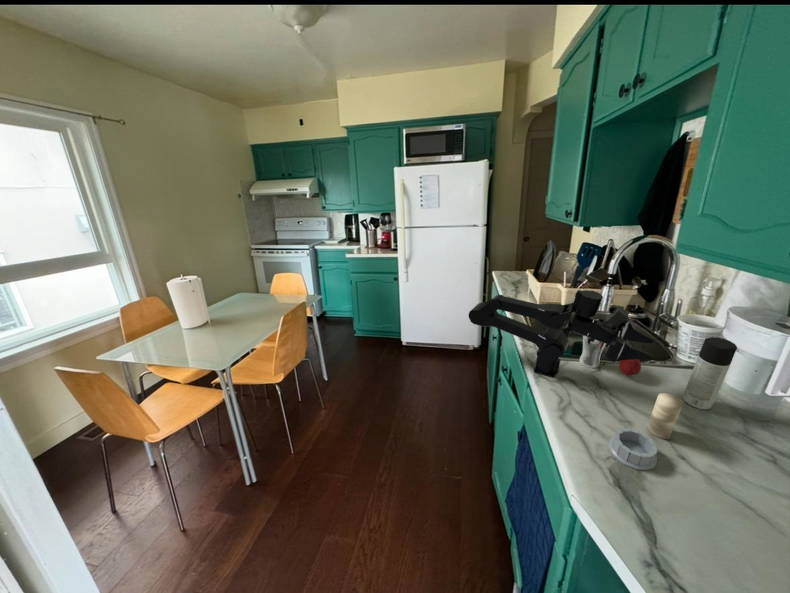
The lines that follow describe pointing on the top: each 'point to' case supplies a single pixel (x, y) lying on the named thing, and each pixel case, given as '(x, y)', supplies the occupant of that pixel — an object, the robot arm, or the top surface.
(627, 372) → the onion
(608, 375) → the top surface
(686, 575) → the top surface
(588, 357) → the beer glass
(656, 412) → the birch plug
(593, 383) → the top surface
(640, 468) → the round socket
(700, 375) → the spray can
